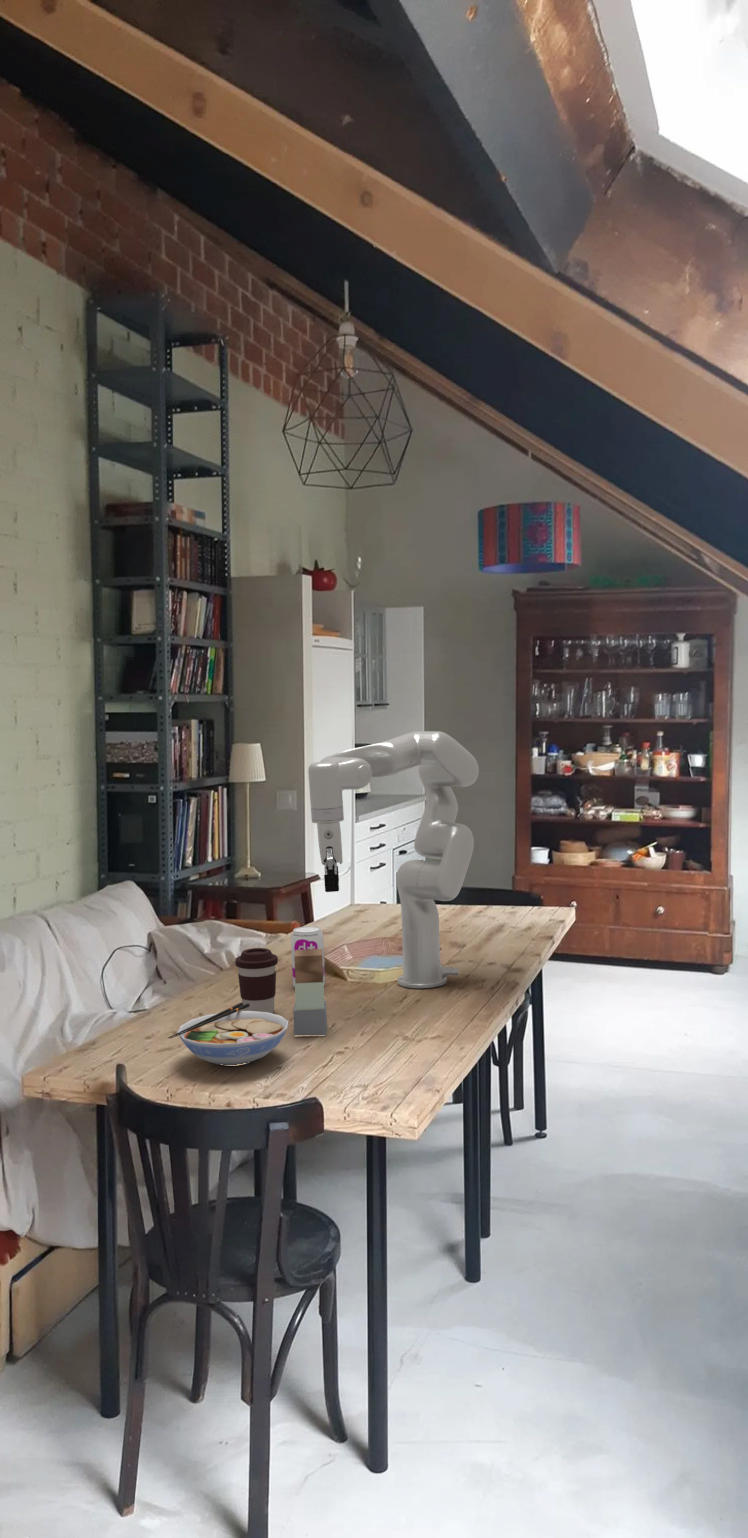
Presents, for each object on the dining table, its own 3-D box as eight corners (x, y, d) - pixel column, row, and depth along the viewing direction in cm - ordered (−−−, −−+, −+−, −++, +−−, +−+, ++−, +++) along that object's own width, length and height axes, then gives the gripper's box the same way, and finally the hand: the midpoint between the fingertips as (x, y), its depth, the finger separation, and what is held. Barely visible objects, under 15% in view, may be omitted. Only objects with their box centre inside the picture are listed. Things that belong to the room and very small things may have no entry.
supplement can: (320, 991, 283) (318, 932, 282) (289, 991, 285) (286, 932, 284) (328, 983, 291) (326, 926, 290) (297, 982, 293) (295, 925, 292)
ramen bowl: (240, 1089, 216) (238, 1047, 215) (151, 1071, 228) (149, 1031, 227) (315, 1051, 237) (313, 1013, 236) (230, 1036, 249) (228, 1000, 248)
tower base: (327, 1026, 254) (326, 1000, 253) (326, 1036, 247) (325, 1009, 246) (296, 1027, 254) (295, 1001, 253) (294, 1037, 247) (293, 1010, 246)
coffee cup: (286, 1008, 269) (283, 947, 268) (269, 1020, 260) (266, 956, 259) (248, 1006, 272) (246, 945, 271) (230, 1018, 263) (227, 954, 262)
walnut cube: (323, 975, 253) (322, 948, 252) (322, 982, 247) (321, 955, 246) (296, 976, 252) (295, 950, 252) (295, 983, 246) (294, 956, 246)
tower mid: (324, 1001, 253) (323, 975, 253) (324, 1009, 247) (323, 982, 246) (296, 1002, 253) (295, 976, 252) (295, 1010, 247) (294, 983, 246)
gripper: (343, 819, 253) (348, 893, 255) (343, 808, 270) (347, 878, 272) (310, 821, 253) (315, 896, 255) (312, 810, 270) (316, 880, 272)
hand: (332, 887), depth 263 cm, fingers open, 9 cm apart
